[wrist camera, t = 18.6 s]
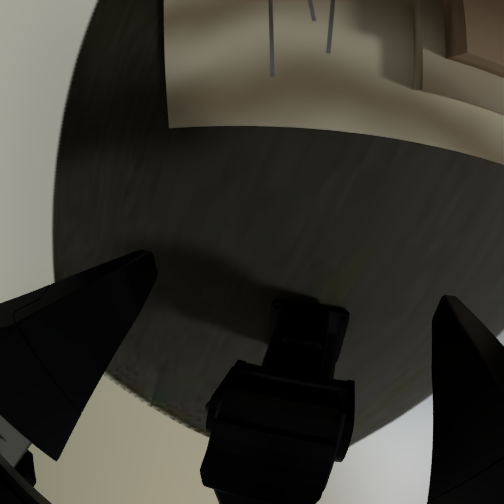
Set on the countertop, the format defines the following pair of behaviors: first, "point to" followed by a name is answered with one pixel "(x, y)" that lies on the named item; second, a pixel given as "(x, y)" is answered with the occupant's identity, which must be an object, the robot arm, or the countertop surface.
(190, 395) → the countertop surface
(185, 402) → the countertop surface
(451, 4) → the block
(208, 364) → the countertop surface
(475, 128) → the board
